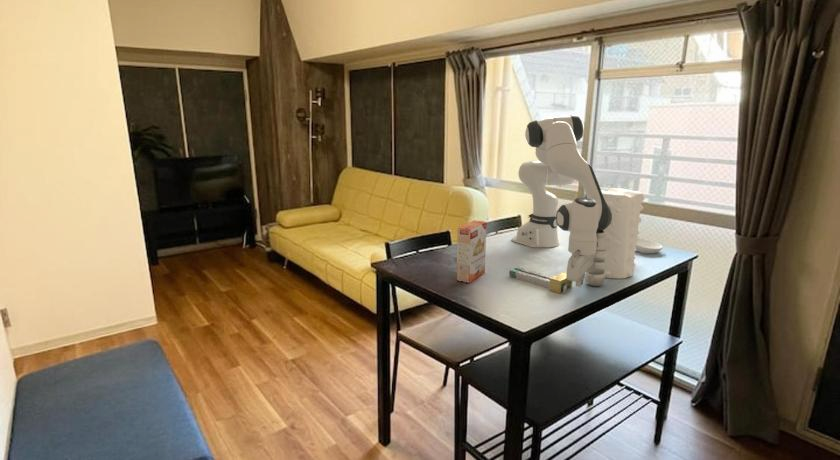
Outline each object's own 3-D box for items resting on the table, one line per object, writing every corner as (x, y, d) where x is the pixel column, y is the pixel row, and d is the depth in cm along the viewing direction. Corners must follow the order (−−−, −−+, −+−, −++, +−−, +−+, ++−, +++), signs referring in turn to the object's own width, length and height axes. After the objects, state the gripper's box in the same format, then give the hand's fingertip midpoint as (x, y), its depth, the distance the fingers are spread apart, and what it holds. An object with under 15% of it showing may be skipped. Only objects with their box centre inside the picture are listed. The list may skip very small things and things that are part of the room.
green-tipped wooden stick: (568, 290, 161) (569, 282, 161) (563, 292, 159) (563, 285, 158) (514, 274, 178) (514, 267, 177) (509, 276, 175) (509, 269, 175)
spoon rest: (665, 252, 202) (667, 236, 201) (656, 258, 194) (658, 242, 193) (613, 242, 219) (614, 227, 217) (601, 247, 211) (603, 232, 209)
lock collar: (572, 287, 164) (572, 274, 163) (559, 293, 158) (560, 281, 157) (561, 284, 167) (562, 272, 165) (549, 290, 161) (550, 278, 160)
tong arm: (553, 283, 167) (553, 276, 167) (550, 285, 166) (550, 278, 165) (517, 272, 179) (517, 266, 178) (513, 274, 177) (514, 267, 177)
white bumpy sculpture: (578, 268, 183) (584, 189, 175) (609, 262, 189) (616, 186, 181) (611, 282, 168) (619, 196, 160) (643, 275, 174) (653, 192, 166)
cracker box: (470, 284, 168) (471, 229, 163) (456, 281, 171) (456, 227, 166) (486, 272, 180) (487, 221, 174) (472, 270, 183) (473, 219, 178)
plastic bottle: (581, 282, 169) (585, 229, 163) (599, 281, 169) (603, 228, 164) (589, 288, 162) (593, 234, 157) (607, 287, 163) (612, 233, 158)
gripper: (582, 256, 143) (579, 297, 147) (599, 240, 160) (596, 278, 163) (562, 253, 147) (560, 293, 150) (581, 238, 163) (578, 274, 167)
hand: (579, 285), depth 157 cm, fingers closed
